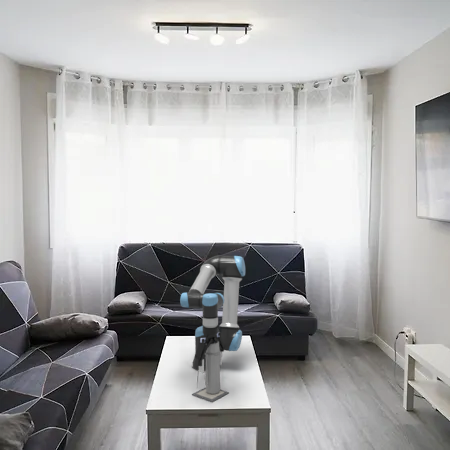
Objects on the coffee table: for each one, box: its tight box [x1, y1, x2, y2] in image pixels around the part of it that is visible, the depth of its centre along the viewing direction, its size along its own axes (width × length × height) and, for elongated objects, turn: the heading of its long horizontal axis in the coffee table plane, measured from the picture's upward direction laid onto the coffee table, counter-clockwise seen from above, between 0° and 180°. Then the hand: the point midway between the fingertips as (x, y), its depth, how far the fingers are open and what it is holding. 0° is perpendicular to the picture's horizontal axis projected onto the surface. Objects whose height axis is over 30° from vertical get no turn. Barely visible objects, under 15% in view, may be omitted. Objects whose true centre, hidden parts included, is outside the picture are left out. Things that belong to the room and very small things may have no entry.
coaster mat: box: [191, 386, 230, 403], centre depth 224 cm, size 13×13×1 cm
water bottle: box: [204, 342, 221, 394], centre depth 224 cm, size 9×8×25 cm
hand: (210, 368), depth 223 cm, fingers open, 13 cm apart
